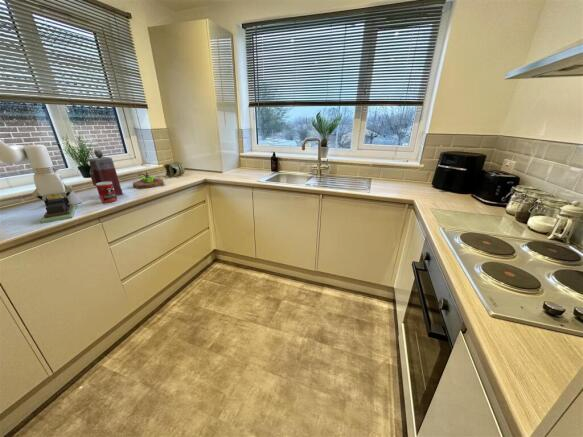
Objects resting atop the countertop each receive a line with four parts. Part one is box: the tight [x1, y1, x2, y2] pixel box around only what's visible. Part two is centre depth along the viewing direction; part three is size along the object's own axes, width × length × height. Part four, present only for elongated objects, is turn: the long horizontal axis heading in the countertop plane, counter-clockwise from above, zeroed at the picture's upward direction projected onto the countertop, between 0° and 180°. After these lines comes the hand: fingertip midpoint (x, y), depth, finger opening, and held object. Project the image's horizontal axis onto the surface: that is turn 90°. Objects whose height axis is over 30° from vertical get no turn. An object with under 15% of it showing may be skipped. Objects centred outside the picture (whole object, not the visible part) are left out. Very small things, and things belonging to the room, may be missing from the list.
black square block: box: [45, 203, 67, 214], centre depth 118 cm, size 6×6×4 cm
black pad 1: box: [47, 197, 68, 208], centre depth 122 cm, size 6×6×4 cm
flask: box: [65, 185, 83, 205], centre depth 137 cm, size 7×7×10 cm
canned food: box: [95, 181, 118, 204], centre depth 138 cm, size 8×8×11 cm
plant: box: [132, 169, 165, 190], centre depth 174 cm, size 20×20×11 cm
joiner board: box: [40, 204, 78, 224], centre depth 121 cm, size 11×22×3 cm, turn 35°
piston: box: [163, 161, 186, 179], centre depth 201 cm, size 11×12×11 cm
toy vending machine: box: [88, 149, 124, 197], centre depth 147 cm, size 9×11×28 cm
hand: (58, 205), depth 123 cm, fingers closed on black pad 1, 6 cm apart
